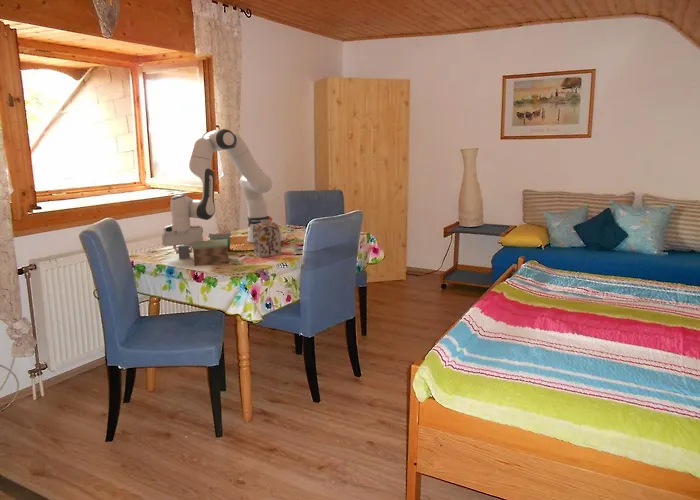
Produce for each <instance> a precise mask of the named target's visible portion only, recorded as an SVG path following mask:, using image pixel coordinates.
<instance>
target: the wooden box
mask: <svg viewBox="0 0 700 500" xmlns="http://www.w3.org/2000/svg"><path fill="white" fill-rule="evenodd" d="M192 253H193V264H194V267H197V266H196V265H199V266H206V265H207V266H208V265H209V266H210V265H222V264H229V251H228V247H220V248H207V249H193V248H192Z"/></svg>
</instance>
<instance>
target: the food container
mask: <svg viewBox="0 0 700 500" xmlns="http://www.w3.org/2000/svg"><path fill="white" fill-rule="evenodd" d="M231 236H232V232H231V231H229V232H224V233H223V232H219V233H208V238H209V240H222V239H227V244H228V252H229V251H230V250H231Z"/></svg>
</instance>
